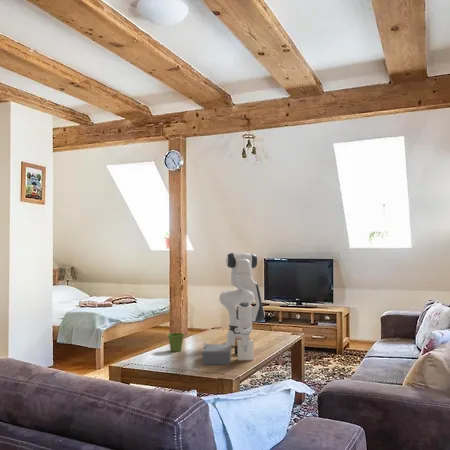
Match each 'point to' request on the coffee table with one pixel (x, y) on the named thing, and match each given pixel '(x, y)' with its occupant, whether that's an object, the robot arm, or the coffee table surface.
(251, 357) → the door panel
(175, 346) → the plant pot
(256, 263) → the robot arm
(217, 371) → the coffee table surface
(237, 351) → the ammunition clip
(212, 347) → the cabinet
